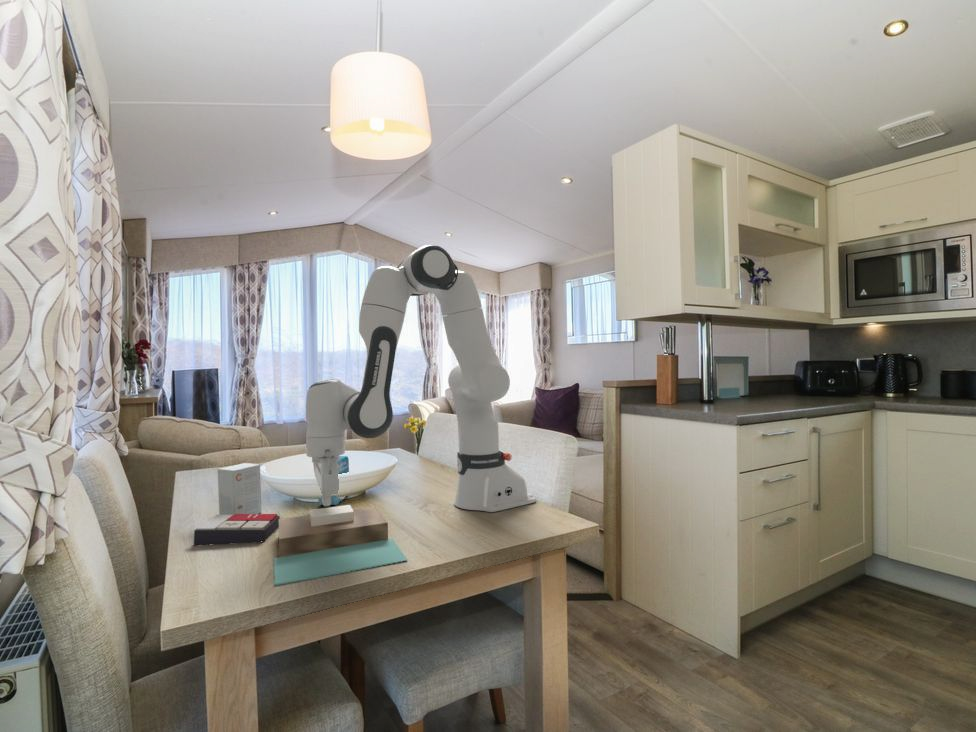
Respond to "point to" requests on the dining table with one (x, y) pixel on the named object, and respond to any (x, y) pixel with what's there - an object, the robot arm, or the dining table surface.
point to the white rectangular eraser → (331, 515)
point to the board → (331, 532)
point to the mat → (336, 561)
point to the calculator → (236, 529)
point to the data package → (342, 468)
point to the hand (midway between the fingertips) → (326, 504)
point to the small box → (239, 489)
